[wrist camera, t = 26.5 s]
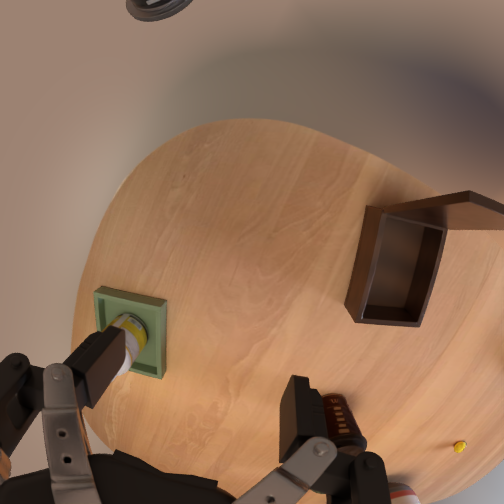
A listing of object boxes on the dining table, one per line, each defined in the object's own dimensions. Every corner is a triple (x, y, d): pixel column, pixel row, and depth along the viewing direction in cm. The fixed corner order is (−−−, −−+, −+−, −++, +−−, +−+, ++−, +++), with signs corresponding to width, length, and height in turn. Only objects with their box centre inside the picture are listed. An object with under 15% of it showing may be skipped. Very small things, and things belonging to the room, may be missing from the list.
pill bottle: (112, 336, 43) (78, 374, 31) (118, 305, 41) (79, 340, 30) (145, 352, 43) (117, 396, 32) (153, 322, 41) (122, 364, 30)
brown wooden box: (404, 311, 40) (419, 327, 34) (344, 304, 40) (354, 322, 34) (427, 219, 36) (448, 226, 31) (366, 205, 36) (382, 209, 31)
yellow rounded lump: (455, 441, 49) (463, 445, 45) (463, 436, 50) (472, 440, 47) (450, 451, 48) (458, 455, 45) (458, 446, 50) (466, 450, 47)
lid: (538, 230, 15) (539, 221, 15) (469, 201, 15) (469, 189, 15) (450, 229, 30) (450, 223, 30) (383, 213, 30) (384, 206, 30)
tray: (101, 285, 41) (93, 291, 39) (166, 300, 41) (161, 307, 39) (107, 354, 45) (101, 362, 42) (166, 370, 44) (161, 379, 42)
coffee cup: (313, 425, 46) (321, 478, 34) (298, 400, 45) (305, 456, 32) (356, 409, 45) (373, 460, 32) (345, 382, 43) (364, 436, 31)
